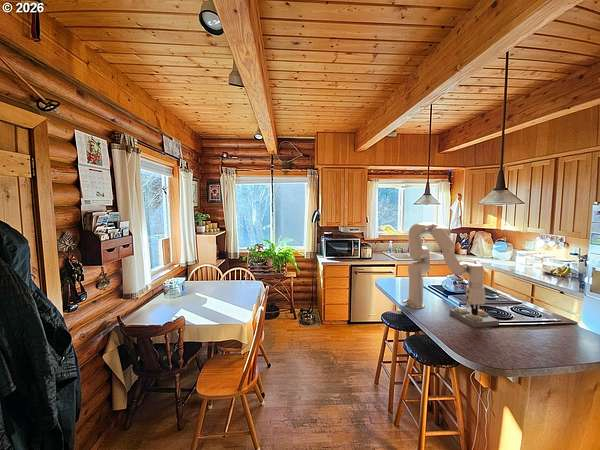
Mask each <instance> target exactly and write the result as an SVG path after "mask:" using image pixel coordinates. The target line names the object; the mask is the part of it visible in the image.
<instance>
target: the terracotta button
mask: <svg viewBox="0 0 600 450" xmlns="http://www.w3.org/2000/svg"><path fill="white" fill-rule="evenodd" d="M484 312H485V311H484V310H483V309H480V308H479V309H478V314H484Z"/></svg>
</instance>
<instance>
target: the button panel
mask: <svg viewBox="0 0 600 450" xmlns="http://www.w3.org/2000/svg"><path fill="white" fill-rule="evenodd" d="M471 309H472V308H471V307H470V308H466V312H461V311H459V310H458V307H457V308H456V307H455V308H454V309H449V315H451V316H452V317H454V318H456V319H458V320H460V321H462V322H463V323H465V324H467V325H469V326H471V327H472V328H483V327H496V326H497V327H499V326H500V320H498V319H496V318H495V317H492V316H490V315H489V313H487V312H485V311H484V314H478V318H472V317H470V313H471ZM498 325H499V326H498Z"/></svg>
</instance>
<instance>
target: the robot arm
mask: <svg viewBox="0 0 600 450" xmlns="http://www.w3.org/2000/svg"><path fill="white" fill-rule="evenodd" d="M451 233H452V231H451V229H450V228H449V227H447V226H446V225H445V226H444V225H441V224H436V223H433V222H418V223H414V224H413V225H412V226H411V227H410V228H409V230H408V241H409V243H408V245H409V247H408V248H409V249H408V250H409V251H408V252H409V257H410V259H411V260H413V261H412V262H411V263H409V264H408V267H407V272H408V298H406V299H402V300H401V302H402V304H406V306H407V307H409V308H412V309H421V310H422V309H425V308H426V304H425V303H424V278H423V275H425V274H427V273H429V271H430V270H431V256H430V255H431V254H430V251H429V249H428V247H426V246H425V245H423V239H422V237H421V236H426V235H430V236H432V238H433V240H434V241H435V242H436V244H437V245H438V247H439V248H440V250H441V252H442V257H443V260H444V263H445V265H446V267H448V269H449V270H450V272H451V273H452V274H454V275H455V276H464V275H468V276H467V277H468V280H467V284H466V285H467V287H466V291H465V304H466V306H468V307H470V308H472V309H471V314H473V315H478V309H480V307H481V306H483V305H484V304H485V303H486V302H487V301H486V300H487V299H486V298H487V297H486V289H485V287H484V270H485V269H484V268H485V267H484V265H483V264H479V263H471V262H467V261H459V259H458V258H457V256H456V254H455V250H456V244H455V243H454V241H453V240H452V238H451Z"/></svg>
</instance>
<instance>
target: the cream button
mask: <svg viewBox="0 0 600 450" xmlns="http://www.w3.org/2000/svg"><path fill="white" fill-rule="evenodd" d="M457 308H458V310H459V311H461V312H466V309H467V308H465V307H462V306H459V307H457Z"/></svg>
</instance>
